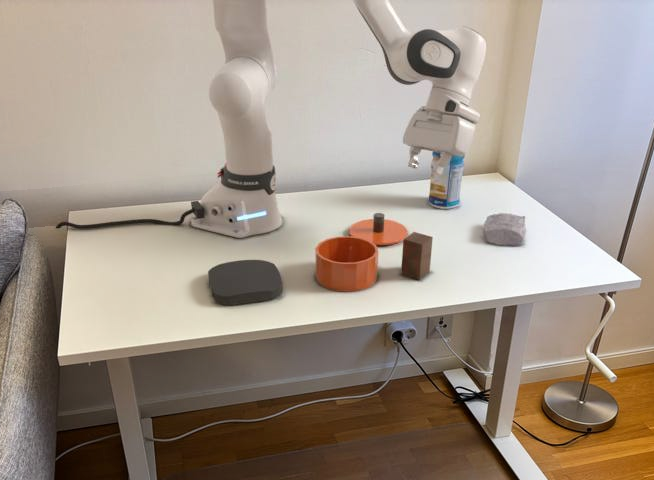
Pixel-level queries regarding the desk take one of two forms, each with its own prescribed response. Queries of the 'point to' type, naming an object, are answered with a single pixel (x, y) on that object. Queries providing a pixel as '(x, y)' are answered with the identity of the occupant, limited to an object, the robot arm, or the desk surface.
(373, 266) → the pan
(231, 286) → the media streaming box
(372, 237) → the pan lid
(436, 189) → the beverage bottle
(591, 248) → the desk surface
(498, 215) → the stone block
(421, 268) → the block
